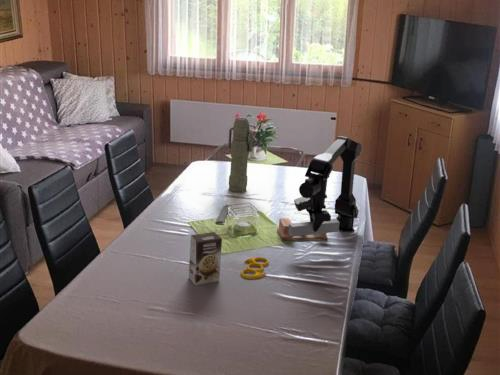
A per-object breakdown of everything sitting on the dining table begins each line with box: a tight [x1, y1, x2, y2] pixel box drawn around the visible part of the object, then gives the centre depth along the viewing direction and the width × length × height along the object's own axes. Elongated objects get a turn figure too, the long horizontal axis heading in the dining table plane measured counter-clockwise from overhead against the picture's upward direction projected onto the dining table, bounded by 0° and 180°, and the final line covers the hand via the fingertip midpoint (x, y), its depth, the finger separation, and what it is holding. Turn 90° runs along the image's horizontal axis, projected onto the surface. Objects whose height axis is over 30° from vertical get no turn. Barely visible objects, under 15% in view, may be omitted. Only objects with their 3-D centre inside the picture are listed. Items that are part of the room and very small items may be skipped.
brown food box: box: [188, 231, 223, 286], centre depth 205 cm, size 9×6×16 cm
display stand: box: [276, 217, 329, 242], centre depth 246 cm, size 19×9×6 cm, turn 100°
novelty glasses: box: [240, 256, 270, 280], centre depth 217 cm, size 17×2×10 cm
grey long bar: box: [288, 218, 340, 237], centre depth 230 cm, size 20×3×4 cm, turn 112°
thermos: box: [227, 117, 254, 194], centre depth 288 cm, size 9×12×35 cm
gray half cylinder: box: [214, 204, 231, 224], centre depth 262 cm, size 4×20×2 cm, turn 173°
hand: (313, 229), depth 230 cm, fingers closed on grey long bar, 3 cm apart
